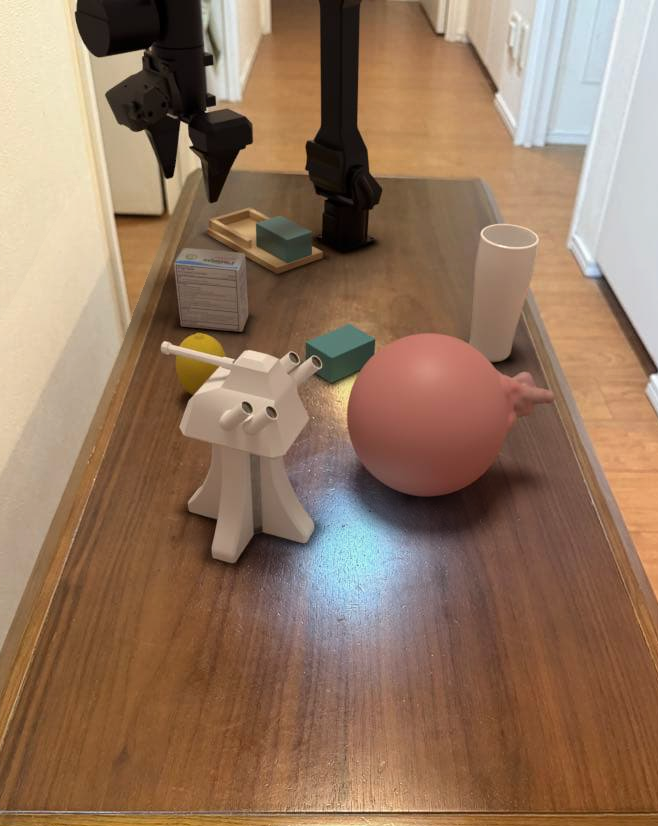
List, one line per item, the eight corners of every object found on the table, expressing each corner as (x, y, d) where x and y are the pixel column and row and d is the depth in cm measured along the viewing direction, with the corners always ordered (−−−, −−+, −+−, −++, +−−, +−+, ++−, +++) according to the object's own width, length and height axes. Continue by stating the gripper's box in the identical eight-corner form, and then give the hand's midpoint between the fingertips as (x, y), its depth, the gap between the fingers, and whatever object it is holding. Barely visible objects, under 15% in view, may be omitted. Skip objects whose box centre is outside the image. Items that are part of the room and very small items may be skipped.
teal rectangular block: (348, 348, 103) (349, 323, 101) (374, 363, 101) (375, 338, 98) (305, 367, 99) (305, 341, 97) (331, 383, 97) (332, 358, 95)
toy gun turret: (210, 465, 85) (195, 302, 72) (332, 497, 82) (339, 334, 70) (151, 540, 76) (123, 369, 64) (285, 578, 74) (283, 409, 61)
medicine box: (249, 316, 107) (246, 251, 101) (242, 334, 104) (238, 268, 98) (188, 310, 108) (182, 245, 102) (180, 327, 104) (173, 261, 98)
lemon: (189, 416, 91) (182, 351, 85) (172, 390, 94) (165, 326, 89) (236, 405, 93) (233, 341, 87) (219, 379, 96) (214, 316, 91)
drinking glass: (522, 347, 105) (547, 231, 95) (506, 372, 101) (530, 253, 90) (472, 334, 107) (490, 218, 97) (454, 358, 102) (471, 239, 92)
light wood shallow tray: (206, 234, 125) (204, 205, 122) (252, 220, 129) (251, 191, 126) (276, 274, 116) (276, 243, 113) (322, 258, 121) (323, 228, 118)
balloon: (555, 527, 81) (594, 392, 70) (349, 530, 79) (357, 392, 68) (520, 433, 92) (549, 304, 81) (339, 434, 90) (345, 302, 79)
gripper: (65, 32, 90) (90, 180, 101) (161, 75, 80) (177, 233, 91) (154, 20, 96) (168, 161, 106) (253, 59, 86) (258, 209, 97)
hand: (190, 189), depth 100 cm, fingers open, 9 cm apart
